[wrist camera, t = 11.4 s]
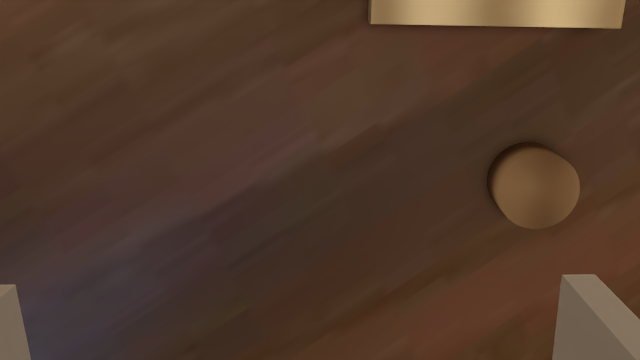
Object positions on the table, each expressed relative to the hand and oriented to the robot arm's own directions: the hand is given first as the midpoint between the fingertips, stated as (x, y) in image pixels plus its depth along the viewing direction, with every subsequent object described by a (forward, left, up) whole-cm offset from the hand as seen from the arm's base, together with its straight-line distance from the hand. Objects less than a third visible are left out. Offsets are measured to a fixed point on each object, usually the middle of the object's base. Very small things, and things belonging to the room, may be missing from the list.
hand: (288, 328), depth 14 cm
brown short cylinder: (+14, -4, -25) cm, 29 cm away
